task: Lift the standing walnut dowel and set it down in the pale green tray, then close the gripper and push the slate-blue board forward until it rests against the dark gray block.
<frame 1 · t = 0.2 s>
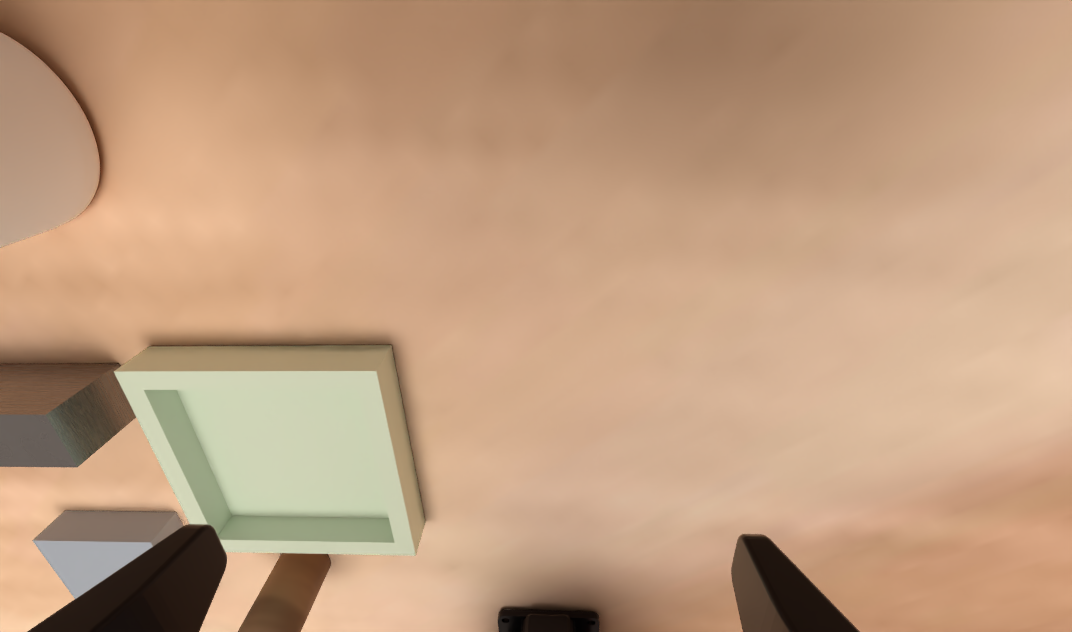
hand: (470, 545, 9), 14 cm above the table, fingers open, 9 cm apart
tray: (299, 442, 27), on the table
pill bottle: (9, 129, 20), on the table
dark gray block: (47, 388, 26), on the table
dowel: (306, 559, 31), on the table
board: (147, 545, 32), on the table
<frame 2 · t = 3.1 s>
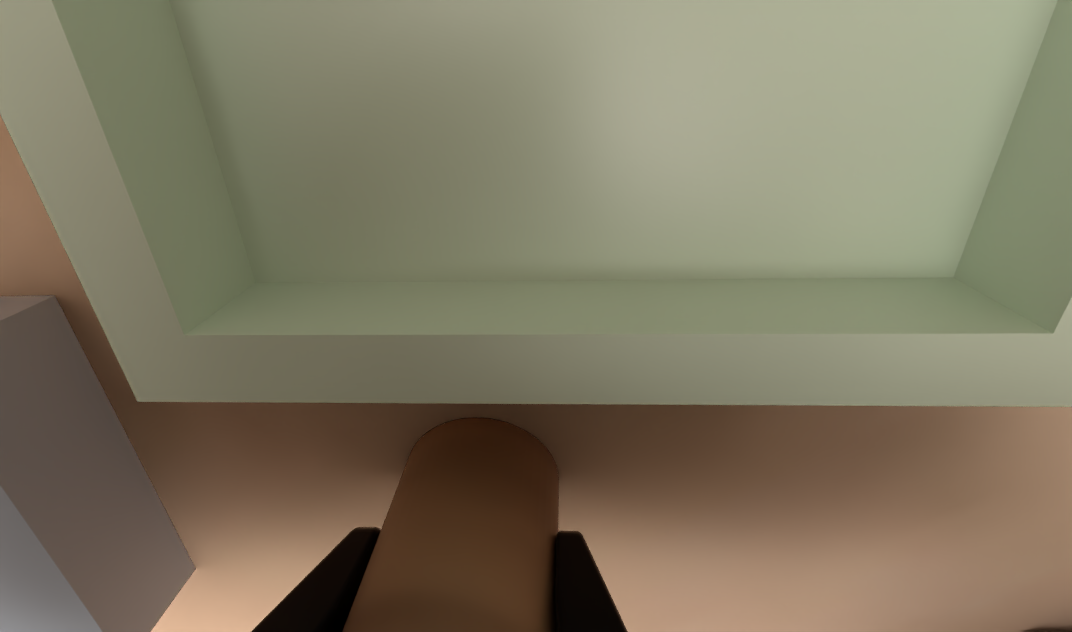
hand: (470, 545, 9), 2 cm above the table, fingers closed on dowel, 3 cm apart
dowel: (482, 478, 10), on the table, touching gripper
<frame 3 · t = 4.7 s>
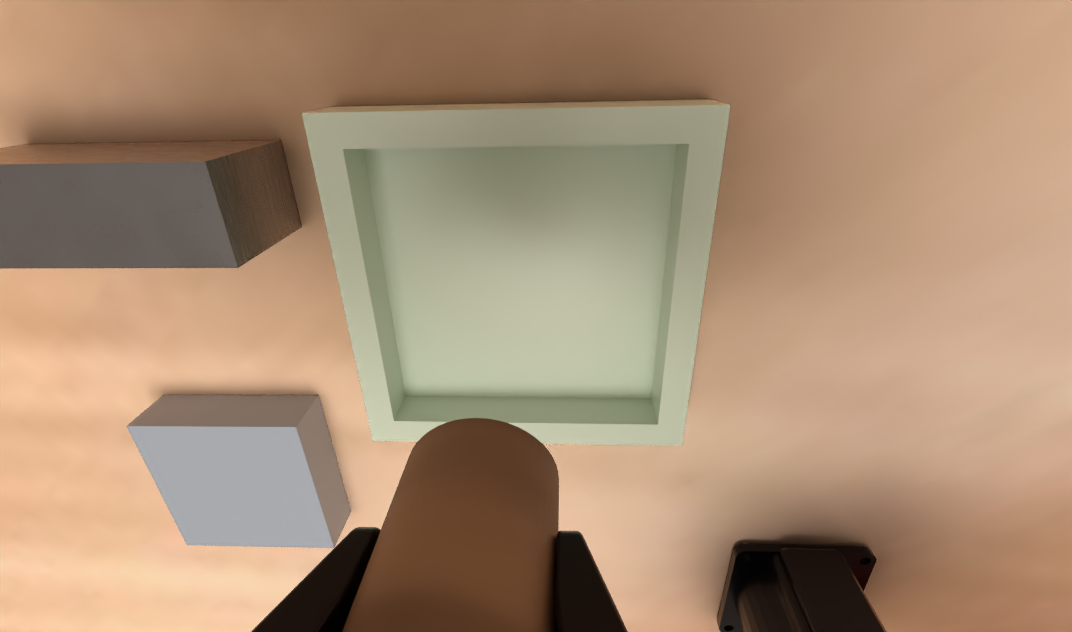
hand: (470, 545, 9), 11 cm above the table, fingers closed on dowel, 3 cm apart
tray: (523, 277, 19), on the table
dark gray block: (167, 186, 18), on the table
dowel: (482, 478, 10), point 10 cm above the table, touching gripper
board: (267, 450, 24), on the table
when the fingers open (4 cm above the table, at t = 6.3 s): dowel drops 1 cm, resting on tray.
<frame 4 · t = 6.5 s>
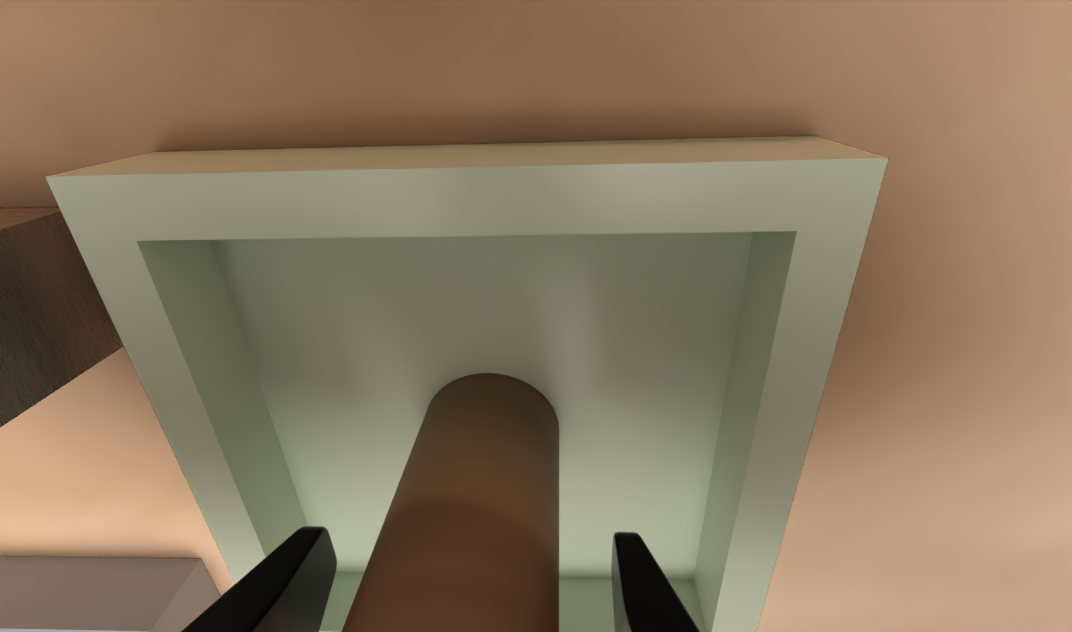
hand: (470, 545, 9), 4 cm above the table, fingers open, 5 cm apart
tray: (494, 412, 12), on the table
dowel: (492, 429, 11), point 1 cm above the table, touching tray
board: (145, 616, 17), on the table
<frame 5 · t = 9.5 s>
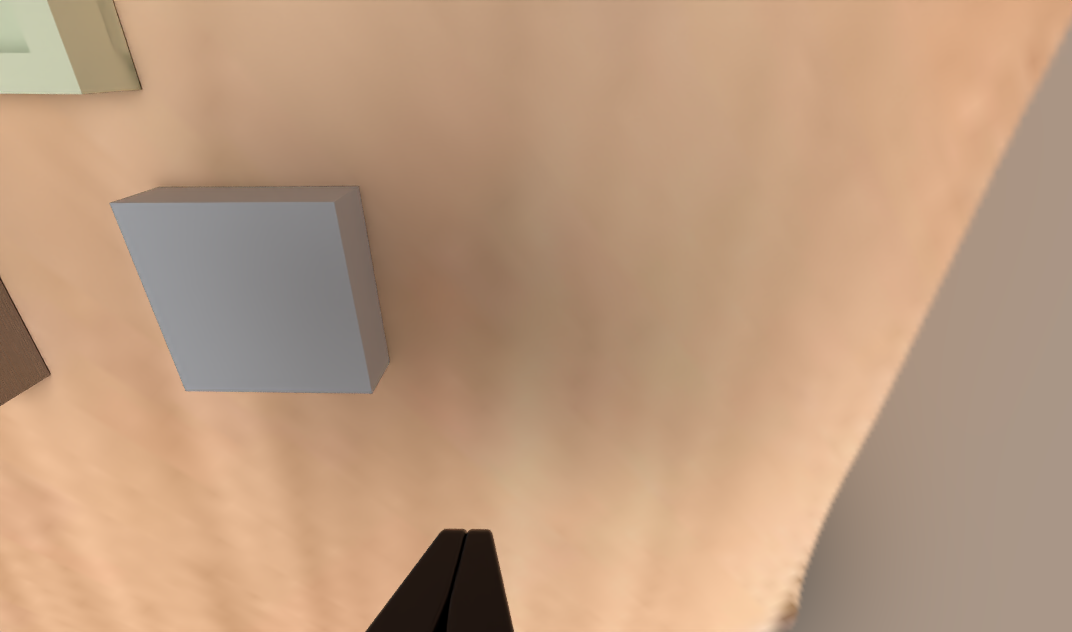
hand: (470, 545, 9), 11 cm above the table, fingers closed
board: (288, 277, 19), on the table
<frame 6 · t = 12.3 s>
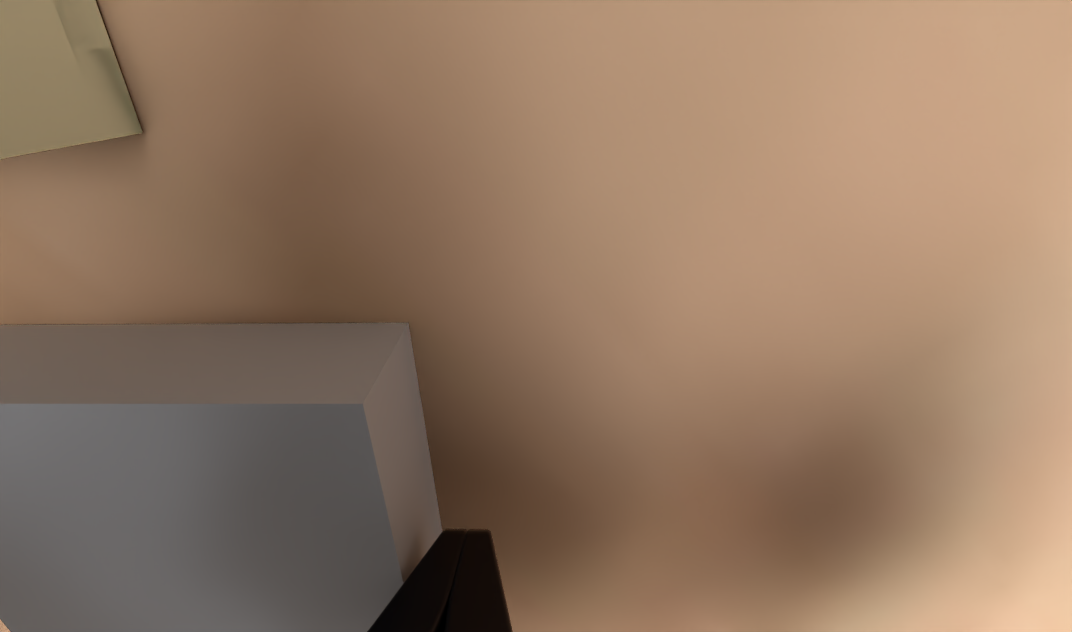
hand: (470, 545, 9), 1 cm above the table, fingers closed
board: (265, 469, 10), on the table
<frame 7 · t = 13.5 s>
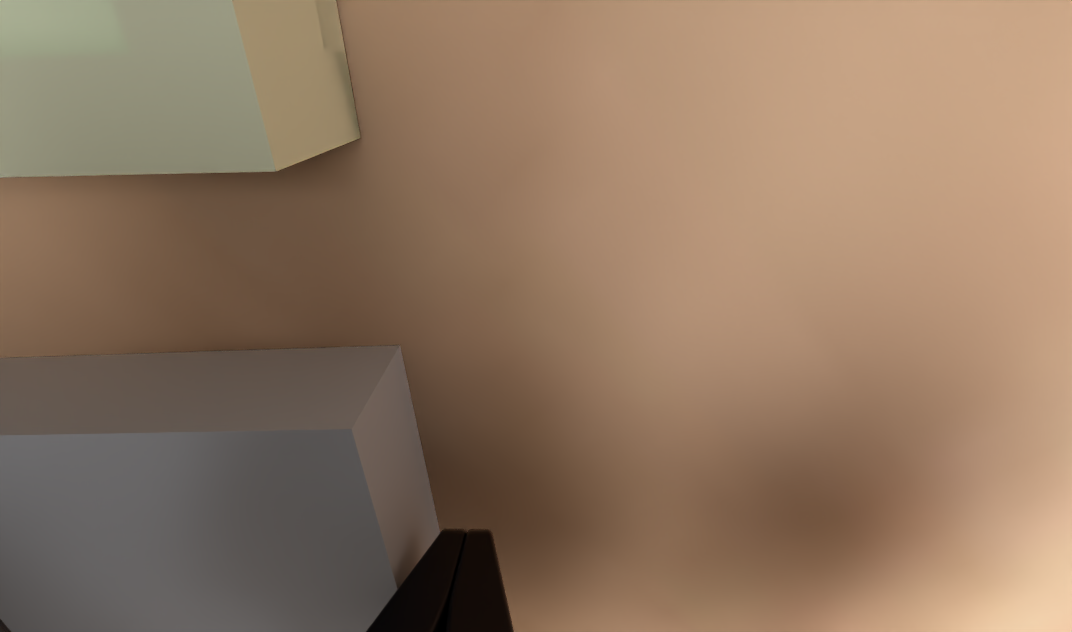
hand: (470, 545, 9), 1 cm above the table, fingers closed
board: (270, 488, 10), on the table
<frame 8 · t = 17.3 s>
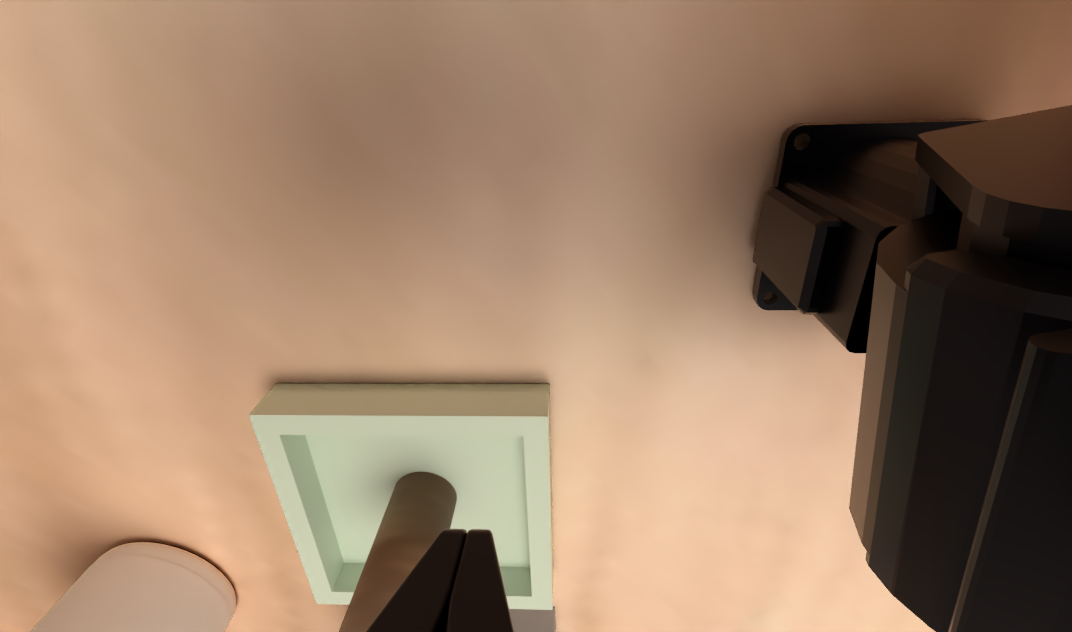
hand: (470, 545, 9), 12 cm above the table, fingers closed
tray: (428, 485, 25), on the table
pill bottle: (174, 580, 29), on the table
dowel: (425, 495, 24), point 1 cm above the table, touching tray
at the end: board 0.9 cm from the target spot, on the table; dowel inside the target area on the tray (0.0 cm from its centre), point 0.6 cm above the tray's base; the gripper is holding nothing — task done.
